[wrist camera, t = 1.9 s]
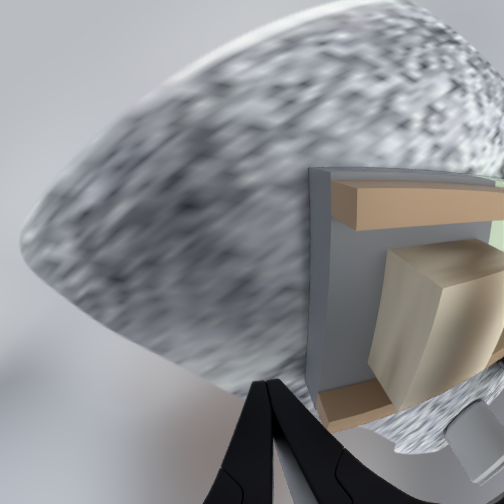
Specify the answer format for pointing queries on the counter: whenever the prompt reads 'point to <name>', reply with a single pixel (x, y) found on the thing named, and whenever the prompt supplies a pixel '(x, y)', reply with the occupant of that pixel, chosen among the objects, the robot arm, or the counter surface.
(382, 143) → the counter surface
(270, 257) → the counter surface
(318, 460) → the robot arm
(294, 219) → the counter surface
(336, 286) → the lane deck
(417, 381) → the maple block
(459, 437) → the can
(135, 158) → the counter surface
